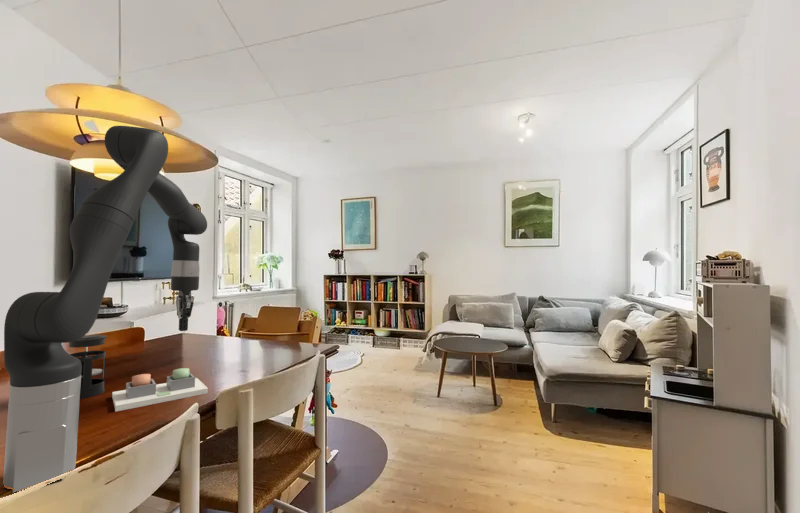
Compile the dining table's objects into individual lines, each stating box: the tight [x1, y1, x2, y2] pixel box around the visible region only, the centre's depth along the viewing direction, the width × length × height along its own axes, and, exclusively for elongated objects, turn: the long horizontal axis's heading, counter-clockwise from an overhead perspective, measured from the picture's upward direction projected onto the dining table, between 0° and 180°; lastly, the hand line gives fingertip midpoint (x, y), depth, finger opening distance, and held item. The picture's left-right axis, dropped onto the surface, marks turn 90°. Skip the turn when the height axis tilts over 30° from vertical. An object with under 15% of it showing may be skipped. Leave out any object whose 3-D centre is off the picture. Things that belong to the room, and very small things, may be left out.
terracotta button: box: [131, 373, 152, 387], centre depth 101 cm, size 4×4×3 cm
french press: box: [68, 317, 108, 400], centre depth 104 cm, size 12×9×23 cm
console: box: [111, 372, 209, 413], centre depth 104 cm, size 14×22×4 cm, turn 133°
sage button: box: [172, 367, 190, 380], centre depth 108 cm, size 4×4×3 cm
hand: (183, 330), depth 109 cm, fingers closed
